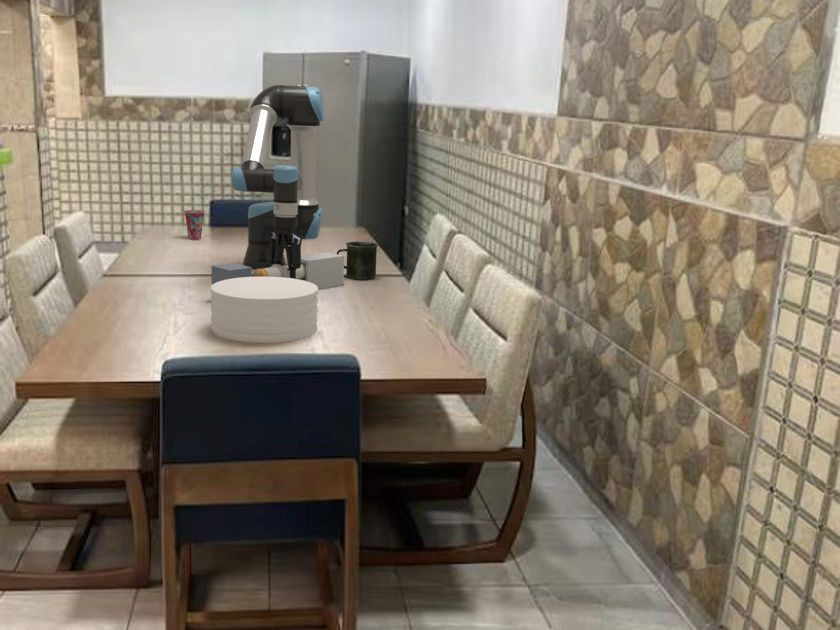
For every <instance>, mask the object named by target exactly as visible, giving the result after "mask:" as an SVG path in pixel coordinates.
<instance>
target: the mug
mask: <svg viewBox="0 0 840 630" xmlns="http://www.w3.org/2000/svg"><path fill="white" fill-rule="evenodd" d="M345 246H346V248H341V249H338V250H337V251H336V254H337V255H340V253H341V252H346V265H344V270H345V271H346V273H345V275H346V277H347V278H348V279H351V280H361V281H367V280H368V281H369V280H373V279H375V278H376V276H377V248H378V246H379V244H378V243H375V242H371V241H348V242H346V243H345Z"/></svg>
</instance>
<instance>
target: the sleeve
mask: <svg viewBox="0 0 840 630" xmlns="http://www.w3.org/2000/svg"><path fill="white" fill-rule="evenodd" d="M301 263H306V278H303V279H299V280H304V281H307V282H310V283H313V284H315V285H316V286H317V287H318V290H323V289H329V288H334V287H340V286H341V287H342V286H344V278H345V277H344V273H345V272H344V270H345V269H344V266H345V256H344V255H341V254H339V255H337V253H333V252H322V253H313V254H307V255H301Z"/></svg>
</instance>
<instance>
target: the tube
mask: <svg viewBox="0 0 840 630" xmlns="http://www.w3.org/2000/svg"><path fill="white" fill-rule="evenodd" d="M287 269H289V268H288V264H285V266H281V265H279V264H274V265H272V266H271V267H270V268H262V269H255V270H253V272H252V277H284V278H287ZM303 278H306V263H301V268H298V269H296V279H303Z"/></svg>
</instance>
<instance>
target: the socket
mask: <svg viewBox="0 0 840 630" xmlns="http://www.w3.org/2000/svg"><path fill="white" fill-rule="evenodd" d="M241 277H253V268H252V267H248V266H244V265H243V264H239V263H235V262H231V263H230V262H229V263H222V264H215V265H214V264H213V265H211V286H212V285H213V284H214V283H216V282H219V281H223V280H227V279H233V278H241Z"/></svg>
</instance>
